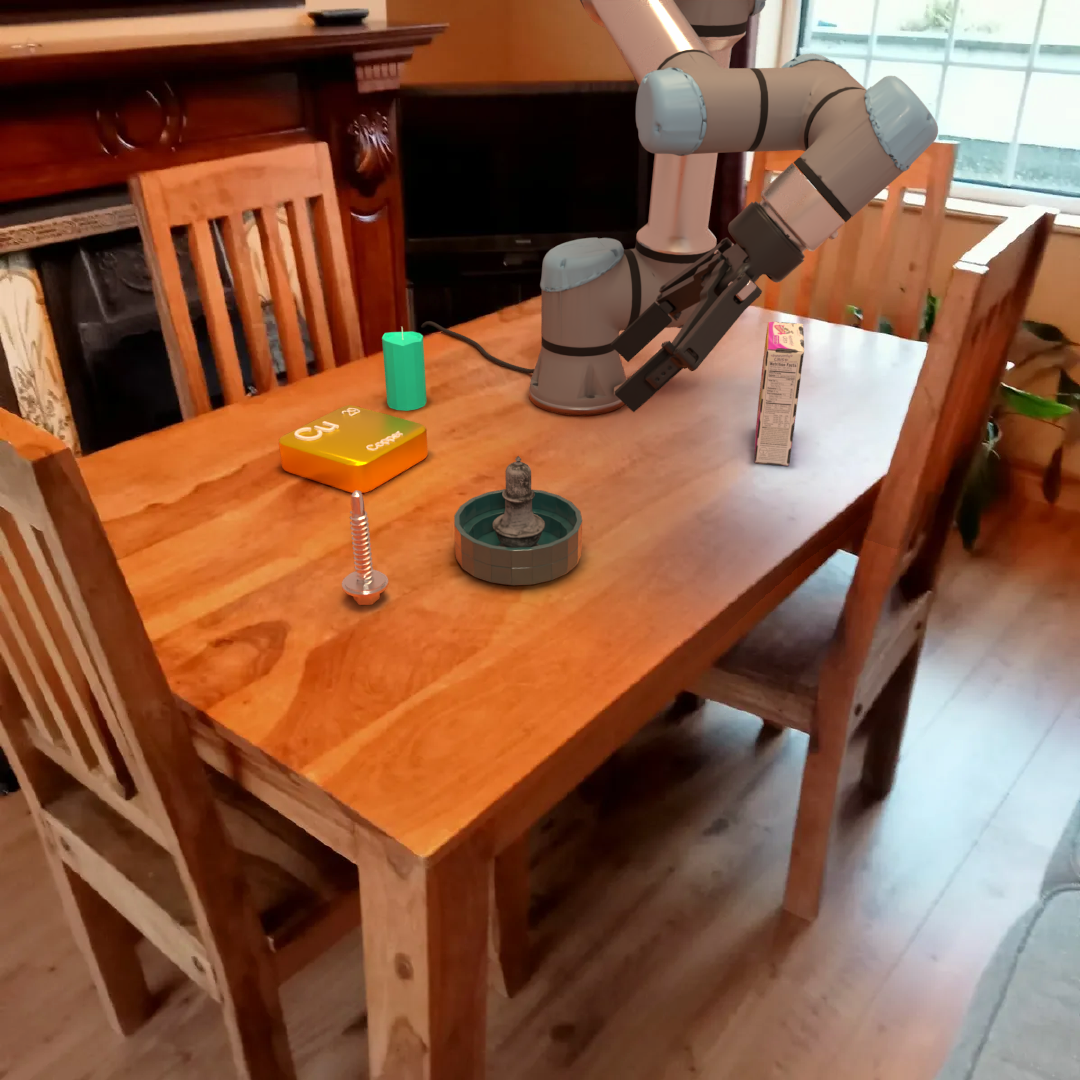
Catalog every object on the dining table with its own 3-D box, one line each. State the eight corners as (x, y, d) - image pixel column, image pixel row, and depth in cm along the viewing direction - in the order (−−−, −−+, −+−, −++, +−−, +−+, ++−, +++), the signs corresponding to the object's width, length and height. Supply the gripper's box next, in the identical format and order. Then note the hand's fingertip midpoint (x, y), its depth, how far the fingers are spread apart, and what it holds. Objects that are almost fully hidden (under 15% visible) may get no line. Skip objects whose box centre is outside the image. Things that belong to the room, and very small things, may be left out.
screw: (377, 581, 110) (397, 602, 107) (336, 594, 108) (354, 616, 105) (368, 475, 104) (388, 493, 100) (323, 486, 102) (343, 505, 98)
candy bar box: (753, 431, 146) (767, 320, 137) (789, 434, 145) (804, 322, 137) (751, 464, 136) (766, 347, 128) (789, 467, 135) (806, 350, 127)
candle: (379, 407, 153) (373, 330, 147) (399, 393, 158) (394, 318, 152) (415, 413, 151) (410, 335, 145) (433, 398, 156) (429, 323, 150)
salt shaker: (507, 569, 111) (505, 472, 105) (484, 545, 116) (481, 450, 110) (554, 557, 114) (555, 461, 108) (530, 534, 118) (529, 440, 112)
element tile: (361, 497, 127) (358, 463, 125) (275, 469, 134) (270, 436, 132) (434, 454, 138) (432, 422, 136) (350, 430, 145) (347, 399, 143)
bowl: (430, 566, 113) (428, 527, 111) (501, 514, 124) (500, 478, 121) (538, 603, 107) (538, 563, 104) (602, 546, 117) (604, 508, 115)
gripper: (835, 293, 87) (654, 451, 95) (785, 223, 108) (640, 357, 117) (779, 231, 84) (598, 399, 93) (739, 172, 106) (594, 312, 114)
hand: (621, 376), depth 105 cm, fingers open, 13 cm apart
